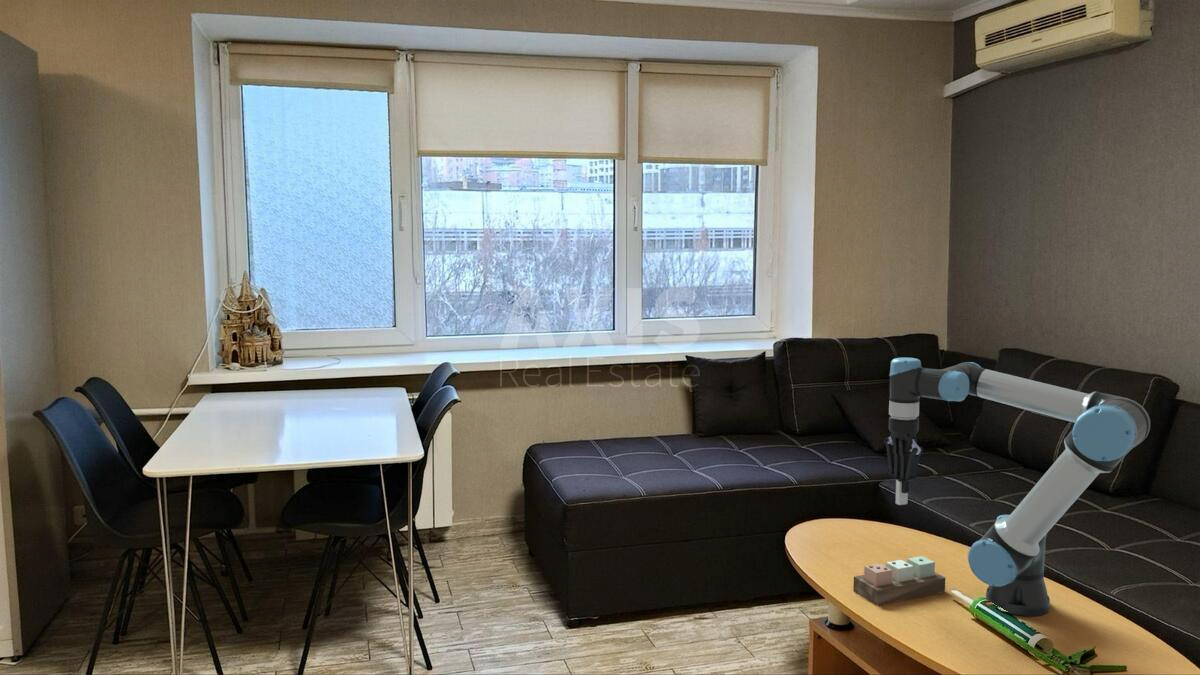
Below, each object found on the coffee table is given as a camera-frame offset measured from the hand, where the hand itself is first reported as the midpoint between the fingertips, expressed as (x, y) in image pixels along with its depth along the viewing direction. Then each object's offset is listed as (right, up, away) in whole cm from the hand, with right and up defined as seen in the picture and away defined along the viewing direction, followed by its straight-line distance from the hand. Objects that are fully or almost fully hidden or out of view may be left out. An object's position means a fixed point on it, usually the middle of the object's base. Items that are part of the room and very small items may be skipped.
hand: (901, 503), depth 241 cm
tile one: (+7, -21, +5) cm, 23 cm away
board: (0, -24, +3) cm, 24 cm away
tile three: (-6, -22, 0) cm, 23 cm away
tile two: (0, -22, +3) cm, 22 cm away
